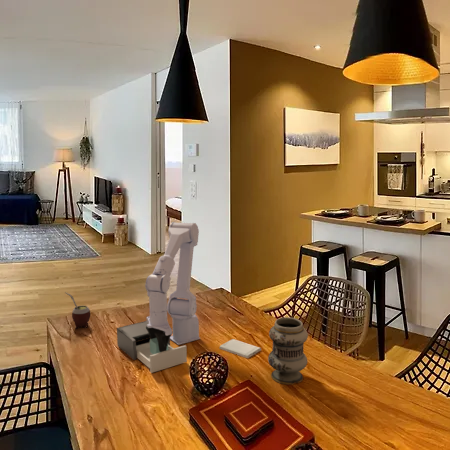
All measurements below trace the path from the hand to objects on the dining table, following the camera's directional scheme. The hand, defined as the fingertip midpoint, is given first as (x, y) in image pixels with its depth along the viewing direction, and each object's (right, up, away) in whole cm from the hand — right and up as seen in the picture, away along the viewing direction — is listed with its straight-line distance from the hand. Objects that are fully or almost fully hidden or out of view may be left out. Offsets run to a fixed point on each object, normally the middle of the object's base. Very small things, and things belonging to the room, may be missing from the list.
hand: (159, 348), depth 149 cm
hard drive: (+27, -4, +9) cm, 29 cm away
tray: (-1, -4, +2) cm, 4 cm away
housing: (-7, -3, +11) cm, 13 cm away
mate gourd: (-36, 0, +30) cm, 47 cm away
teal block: (0, -1, 0) cm, 1 cm away
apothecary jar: (+41, -6, -11) cm, 43 cm away
